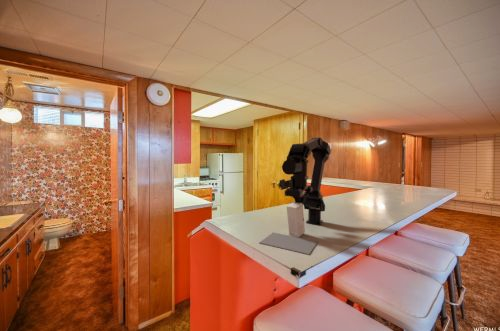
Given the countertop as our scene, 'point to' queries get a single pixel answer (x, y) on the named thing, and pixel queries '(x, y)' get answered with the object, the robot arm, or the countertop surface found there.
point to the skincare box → (295, 219)
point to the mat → (290, 243)
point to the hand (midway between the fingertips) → (299, 211)
